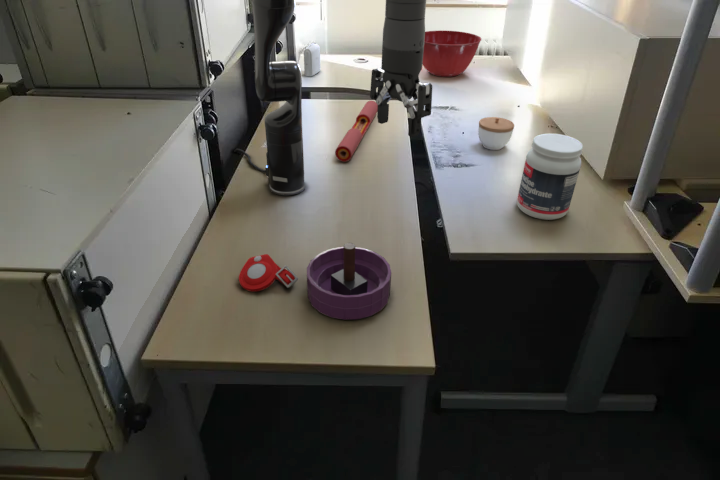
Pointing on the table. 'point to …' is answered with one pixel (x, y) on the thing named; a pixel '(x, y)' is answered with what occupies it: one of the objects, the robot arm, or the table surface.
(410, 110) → the robot arm
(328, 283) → the bowl
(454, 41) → the mixing bowl
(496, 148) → the trinket box
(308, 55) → the photo printer
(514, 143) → the table surface
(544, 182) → the supplement tub
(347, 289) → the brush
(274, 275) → the tracker holder
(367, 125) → the blood vessel
